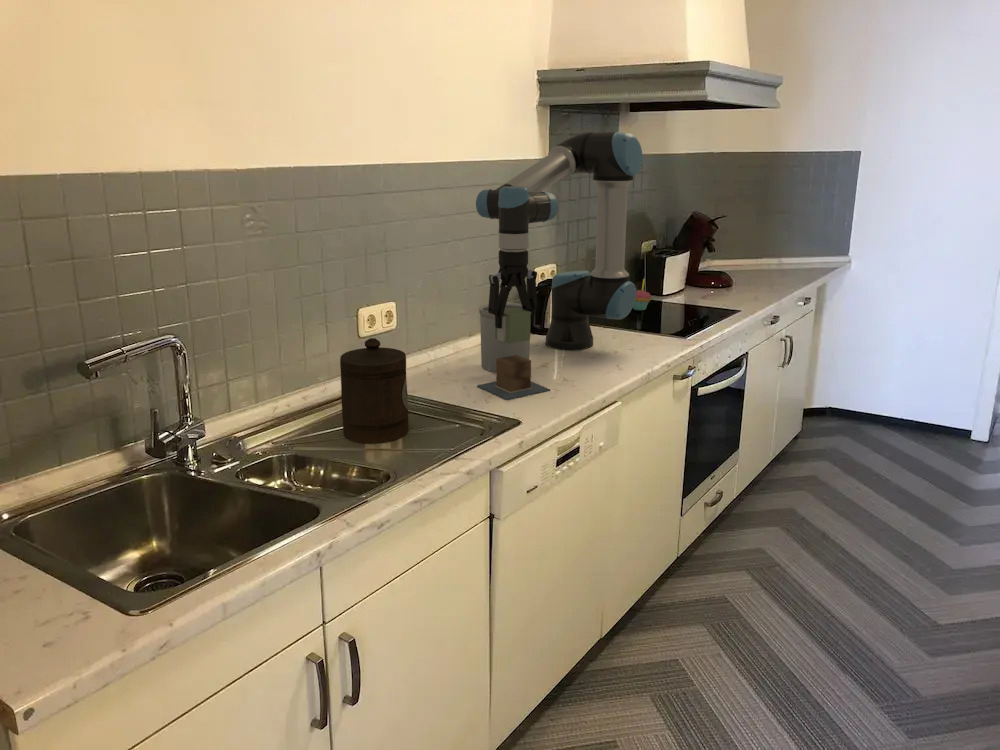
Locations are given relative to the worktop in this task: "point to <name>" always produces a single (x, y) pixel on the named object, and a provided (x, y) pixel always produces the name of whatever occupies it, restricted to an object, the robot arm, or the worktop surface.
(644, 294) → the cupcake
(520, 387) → the walnut block
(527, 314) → the olive block
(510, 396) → the blue square frame
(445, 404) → the worktop surface
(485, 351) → the utensil holder
